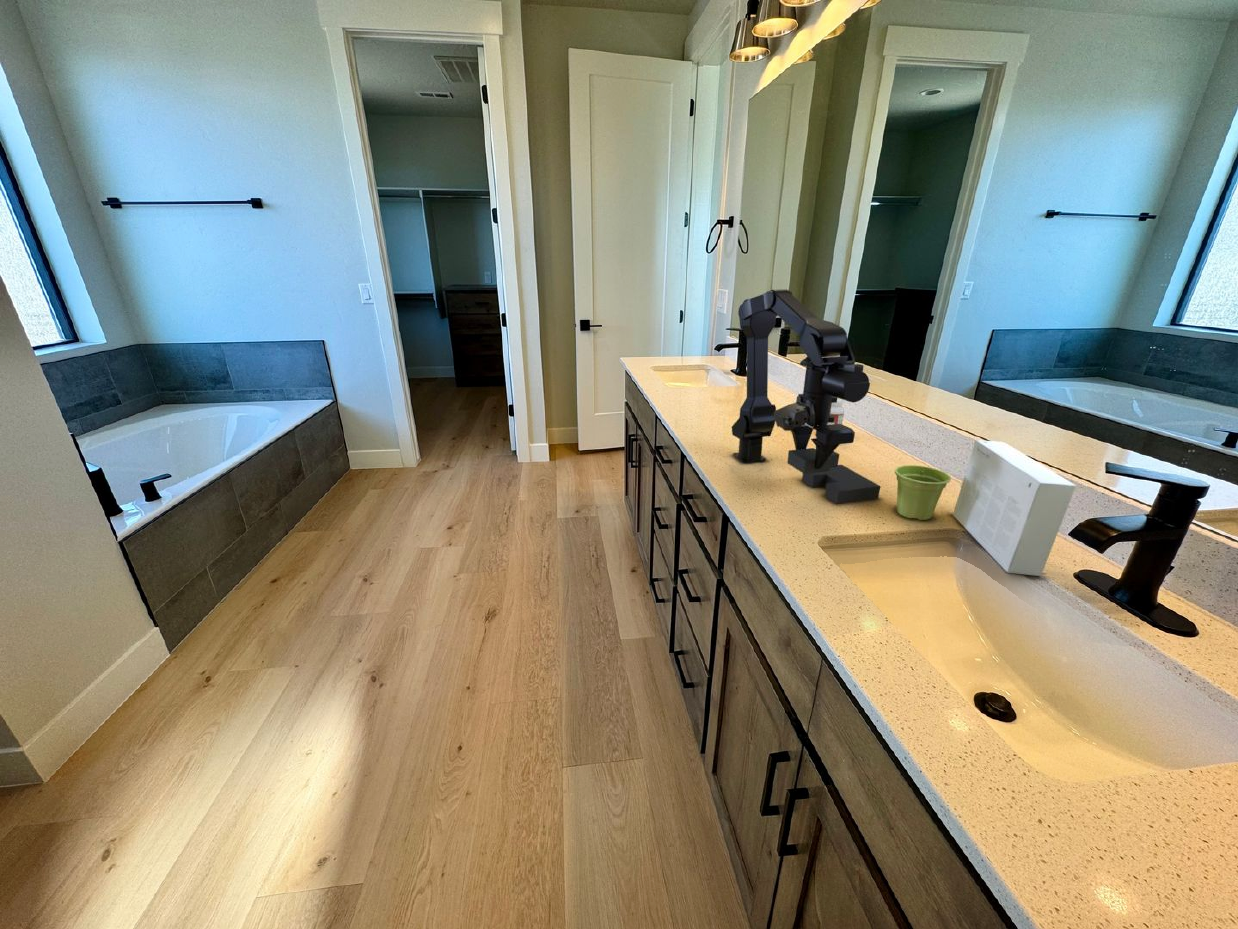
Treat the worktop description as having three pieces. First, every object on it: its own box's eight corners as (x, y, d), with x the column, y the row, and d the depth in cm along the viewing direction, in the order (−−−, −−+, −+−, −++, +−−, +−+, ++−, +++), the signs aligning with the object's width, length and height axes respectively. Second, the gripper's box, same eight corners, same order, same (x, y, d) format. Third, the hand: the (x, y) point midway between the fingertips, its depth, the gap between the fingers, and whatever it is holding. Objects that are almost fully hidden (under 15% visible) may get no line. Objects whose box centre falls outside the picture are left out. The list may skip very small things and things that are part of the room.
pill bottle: (813, 435, 145) (818, 398, 141) (825, 431, 149) (830, 395, 145) (832, 440, 140) (838, 402, 136) (844, 436, 144) (850, 399, 140)
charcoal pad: (801, 480, 114) (803, 468, 113) (839, 476, 116) (841, 464, 115) (836, 504, 102) (838, 491, 101) (878, 499, 104) (880, 486, 103)
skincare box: (1046, 578, 77) (1078, 485, 71) (1006, 574, 78) (1036, 483, 72) (982, 516, 96) (1004, 439, 91) (951, 514, 97) (971, 438, 92)
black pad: (787, 463, 108) (788, 450, 107) (823, 459, 110) (825, 446, 109) (803, 474, 102) (805, 460, 101) (842, 469, 104) (844, 456, 103)
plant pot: (876, 508, 100) (884, 469, 97) (908, 500, 104) (917, 461, 101) (918, 528, 92) (928, 486, 89) (952, 518, 96) (962, 477, 93)
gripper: (759, 383, 106) (753, 451, 112) (809, 404, 89) (798, 483, 95) (805, 380, 109) (797, 447, 114) (862, 400, 92) (849, 477, 97)
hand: (808, 462), depth 105 cm, fingers closed on black pad, 6 cm apart
